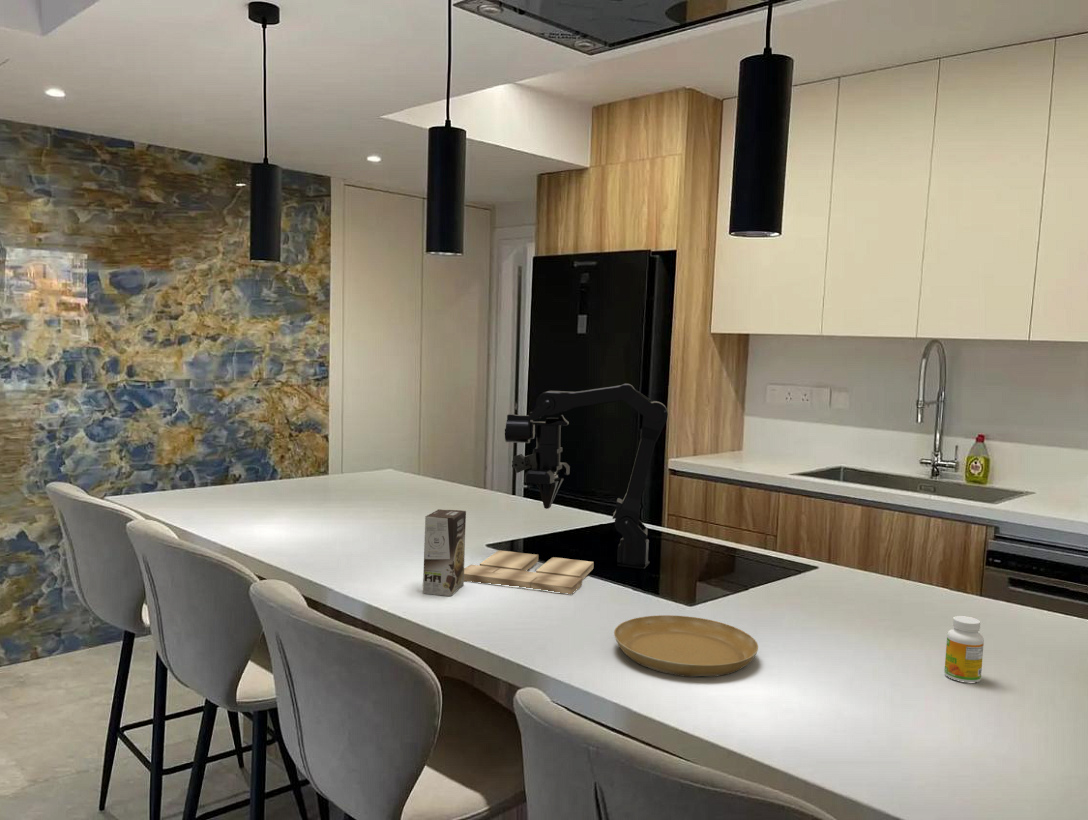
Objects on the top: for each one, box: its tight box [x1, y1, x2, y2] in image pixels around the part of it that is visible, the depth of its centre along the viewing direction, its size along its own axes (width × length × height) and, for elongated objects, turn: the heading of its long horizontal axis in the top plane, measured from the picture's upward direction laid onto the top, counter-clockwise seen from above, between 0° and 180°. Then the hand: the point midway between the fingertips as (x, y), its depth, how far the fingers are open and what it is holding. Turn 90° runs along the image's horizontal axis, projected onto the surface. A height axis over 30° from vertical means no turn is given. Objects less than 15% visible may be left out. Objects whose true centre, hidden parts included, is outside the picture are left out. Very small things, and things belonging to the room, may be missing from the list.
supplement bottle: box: [943, 615, 985, 683], centre depth 141 cm, size 5×5×10 cm
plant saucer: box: [613, 614, 759, 677], centre depth 147 cm, size 24×24×3 cm
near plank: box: [535, 556, 595, 581], centre depth 196 cm, size 10×12×2 cm
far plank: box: [479, 549, 539, 571], centre depth 200 cm, size 10×12×2 cm
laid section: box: [464, 564, 583, 595], centre depth 187 cm, size 26×8×2 cm, turn 72°
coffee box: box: [422, 509, 467, 597], centre depth 180 cm, size 9×6×16 cm
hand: (547, 508), depth 208 cm, fingers closed
